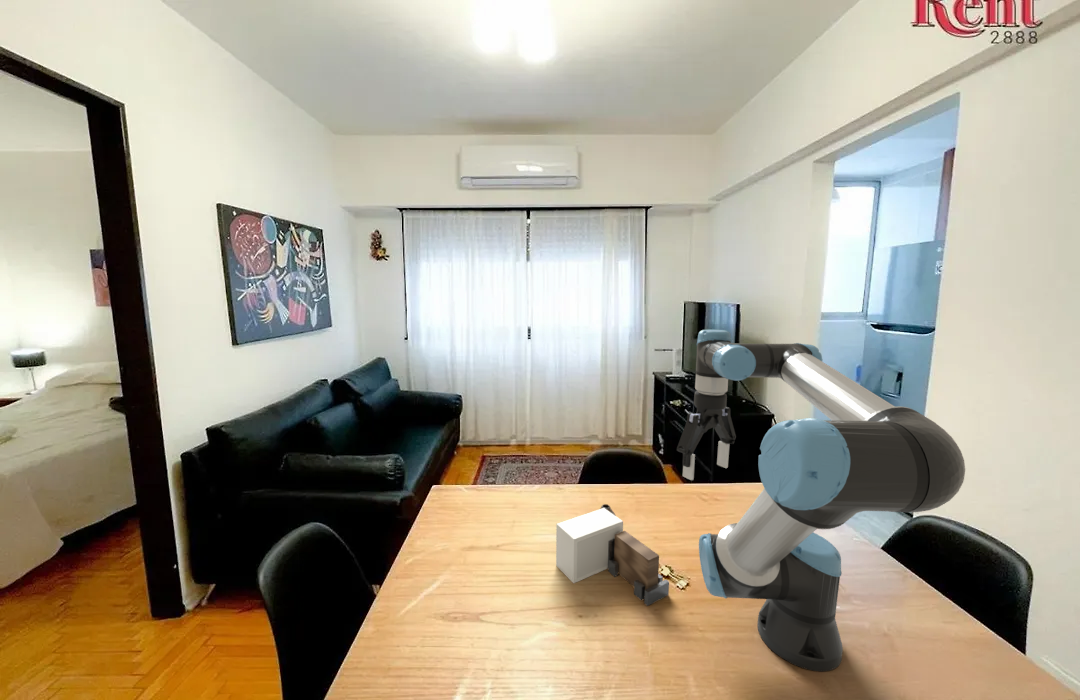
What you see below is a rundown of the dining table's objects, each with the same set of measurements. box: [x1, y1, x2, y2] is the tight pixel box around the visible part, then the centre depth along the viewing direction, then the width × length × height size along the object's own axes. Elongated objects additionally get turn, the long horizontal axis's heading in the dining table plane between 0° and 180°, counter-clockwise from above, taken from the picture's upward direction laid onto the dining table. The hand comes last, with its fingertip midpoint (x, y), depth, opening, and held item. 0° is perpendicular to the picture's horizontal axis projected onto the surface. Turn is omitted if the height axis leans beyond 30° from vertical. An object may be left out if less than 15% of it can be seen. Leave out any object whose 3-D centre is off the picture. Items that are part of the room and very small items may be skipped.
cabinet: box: [555, 508, 624, 584], centre depth 111 cm, size 8×16×12 cm, turn 121°
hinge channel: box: [607, 539, 670, 607], centre depth 104 cm, size 15×7×8 cm, turn 31°
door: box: [614, 530, 660, 597], centre depth 105 cm, size 12×4×10 cm, turn 31°
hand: (705, 472), depth 107 cm, fingers open, 13 cm apart
